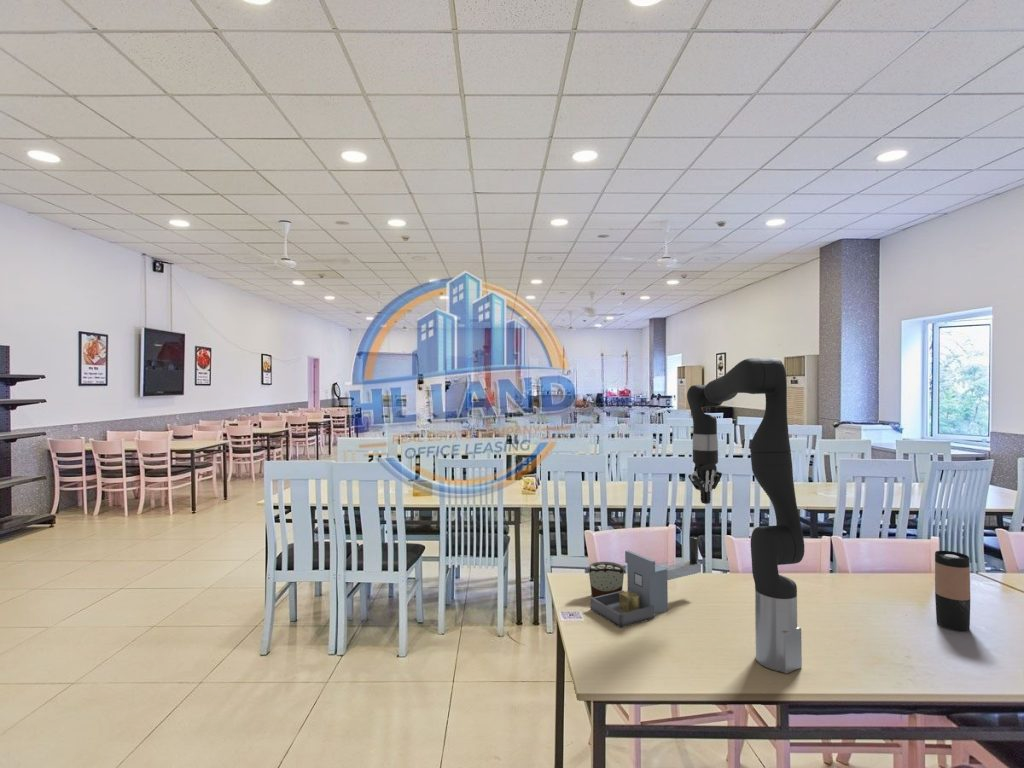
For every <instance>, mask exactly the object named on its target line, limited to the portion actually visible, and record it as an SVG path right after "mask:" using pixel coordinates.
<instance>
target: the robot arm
mask: <svg viewBox="0 0 1024 768" xmlns="http://www.w3.org/2000/svg"><path fill="white" fill-rule="evenodd" d="M787 379H788V378H787V372H786V368H785V364H784V363H783V361H782V360H781V359H779V358H777V357H776V358H775V357H755V358H753V357H751V358H746V359H745V358H744V359H743V360H741V361H739V362H738V363H737V364H735V365H734V366H733V367H732V368H731V369H729V370H728V372H726V373H725V374H724V375H722V376H720V377H718V378H716V379H713V380H711V381H709V382H708V383H707V384H694V385H691V386H690V387H689V388H688V390H687V393H686V399H687V404H688V406H689V409H690V413H691V418H692V425H693V427H692V428H693V429H692V431H693V433H692V463H693V464H694V468H693V472H692V474H688V476H687V478H688V479H689V481H690V482H691V484H692V486H693V487H694V488H695V490H697V491H699V493H700V502H701V504H704V505H708V504H710V503H711V500H712V499H711V492H712V490H715V489H716V488H717V487H718V484H719V482H720V480H721V479H722V477H723V473H722V472H720V471H718V468H717V464H718V463H719V439H718V435H717V434H718V421H717V417H716V416H715V415H712V414H708V413H705V412H704V410H703V408H716V407H720V406H721V405H722V404H723V403H725V402H728V401H730V400H732V399H733V398H735V397H736V396H737V394H750V395H762V394H763V395H765V407H764V408H765V410H764V415H763V418H762V419H761V422H760V424H759V426H758V427H757V429H756V431H755V433H754V435H753V437H752V439H751V442H750V446H749V447H750V448H749V450H750V451H749V452H750V461H751V463H750V464H751V470H752V474H753V476H754V478H755V479H756V481H757V482H758V485H760V487H761V488H762V490H763V491H764V493H765V494H766V495H767V497H768V499H769V500H770V502H771V504H772V507H773V510H774V514H775V521H776V522H775V523H776V525H762V526H758V527H757V526H756V527H755V528H754V529H753V530H752V531H751V535H750V536H751V537H750V554H751V555H750V556H751V558H750V559H751V573H752V578H753V581H754V598H755V599H754V602H755V603H754V604H755V605H754V607H755V608H754V609H755V611H754V612H755V616H754V617H755V618H754V620H755V621H754V622H755V623H754V624H755V629H754V630H755V659H756V662H758V664H760V665H761V666H763V667H765V668H767V669H769V670H773V671H776V672H781V673H782V674H788V673H792V672H793V671H796V670H799V669H802V667H803V665H802V664H803V663H802V662H803V661H802V659H803V657H802V654H803V652H802V650H803V649H802V628H801V627H800V626H798V587H797V583H796V582H795V581H794V580H793V579H791V578H789V577H787V576H784V575H781V574H779V573H780V572H779V566H782V565H795V564H799V563H800V562H802V560H803V558H804V555H805V540H804V533H803V528H802V524H801V519H800V515H799V510H798V506H797V505H798V504H797V498H796V492H795V490H796V489H795V483H794V471H793V470H794V469H793V458H792V449H791V443H790V437H789V436H790V435H789V434H790V433H789V426H788V425H789V422H788V399H787V398H788V387H787V386H788V384H787V383H788V382H787Z"/></svg>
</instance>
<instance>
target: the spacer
mask: <svg viewBox="0 0 1024 768" xmlns="http://www.w3.org/2000/svg"><path fill="white" fill-rule="evenodd" d="M619 608H620V609H622V610H624V611H626V612H629V611H633V610H637V609H639V595H637V594H635V593H633V592H631V591H628V590H625V592H621V593H619Z"/></svg>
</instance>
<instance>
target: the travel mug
mask: <svg viewBox="0 0 1024 768" xmlns="http://www.w3.org/2000/svg"><path fill="white" fill-rule="evenodd" d="M970 562H971V561H970V557H969V556H968V555H967V554H964V553H961V552H957V551H950V550H936V551H934V601H935V618H936V624H937V625H938V626H940V627H942V628H944V629H947V630H950V631H955V632H962V633H963V632H964V633H965V632H970V627H971V573H970V572H971V567H970Z"/></svg>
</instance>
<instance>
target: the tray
mask: <svg viewBox="0 0 1024 768" xmlns="http://www.w3.org/2000/svg"><path fill="white" fill-rule="evenodd" d="M621 592H626V590H622V591H618V592H614V593H610V594H606V595H601V596H597V597H593V598H592V597H590V610H591V611H592V612H594V613H595V614H597V615H599V616H600V617H602V618H604V619H605V618H606V619H605V620H607V621H608V620H609V621H608V622H610V623H612V624H613V623H614V625H615V626H617V627H618V626H619V627H618V628H620V629H622V628H626V627H628V626H632V624H633V625H636V624H639V623H643V622H647V621H650V619H651V620H654V619H655V615H654V606H648V607H645V608H639V609H637V610H633V611H629V612H626V611H624V610H622V609H620V608H619V593H621ZM653 618H654V619H653ZM646 620H647V621H646ZM625 626H626V627H625Z"/></svg>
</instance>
